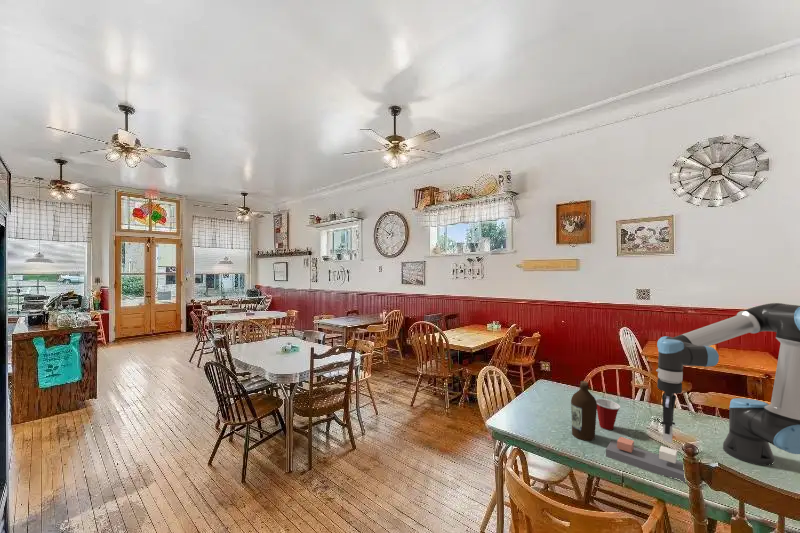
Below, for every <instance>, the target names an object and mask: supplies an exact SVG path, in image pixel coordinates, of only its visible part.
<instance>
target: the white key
mask: <svg viewBox="0 0 800 533" xmlns="http://www.w3.org/2000/svg"><path fill="white" fill-rule="evenodd" d="M658 455H659V459H662V460H666V461H669V462H672V463H676V460H677V459H678V450H676V449H673V448H670V447H666V446H665V445H660V447H659V450H658Z"/></svg>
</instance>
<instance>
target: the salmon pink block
mask: <svg viewBox="0 0 800 533" xmlns="http://www.w3.org/2000/svg"><path fill="white" fill-rule="evenodd" d="M616 442H617V448H618V449H621V450H624V451H627V452H630V453H632V451H633V449H634V447H635V440H632V439H629V438H627V437H622V436H619V438H618V439H617V441H616Z"/></svg>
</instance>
